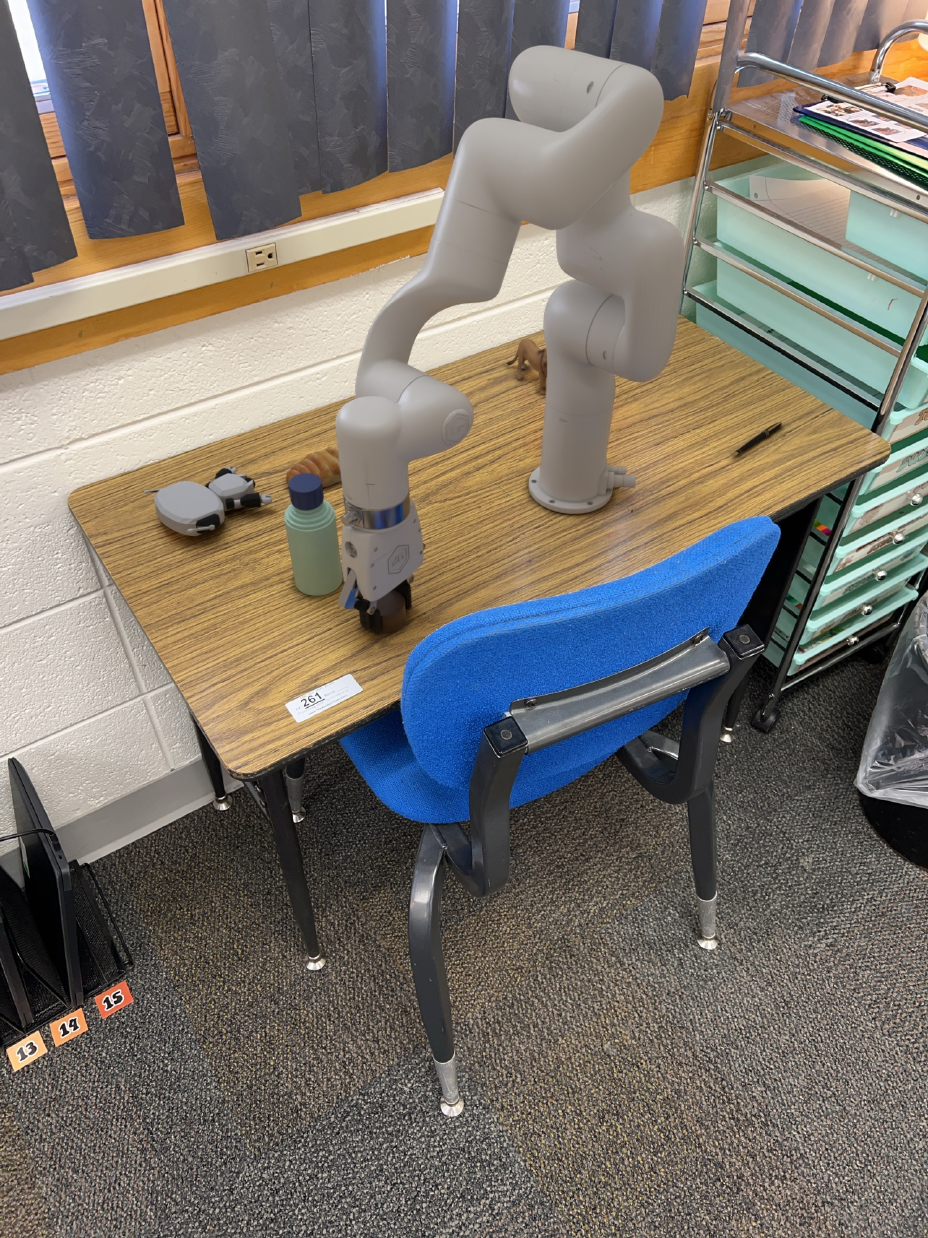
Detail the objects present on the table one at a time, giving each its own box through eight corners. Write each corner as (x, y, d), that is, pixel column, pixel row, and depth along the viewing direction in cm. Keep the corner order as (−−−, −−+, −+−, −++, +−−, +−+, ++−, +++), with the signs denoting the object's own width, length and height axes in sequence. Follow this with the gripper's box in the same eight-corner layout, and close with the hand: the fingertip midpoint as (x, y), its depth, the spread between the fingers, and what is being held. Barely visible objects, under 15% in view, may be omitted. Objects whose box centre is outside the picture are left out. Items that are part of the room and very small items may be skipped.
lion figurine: (577, 392, 158) (582, 344, 152) (557, 403, 155) (561, 354, 149) (515, 361, 165) (518, 314, 159) (495, 371, 163) (496, 324, 157)
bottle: (346, 565, 125) (335, 471, 114) (338, 597, 121) (326, 502, 110) (300, 563, 126) (285, 469, 115) (290, 594, 121) (274, 500, 110)
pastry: (301, 501, 136) (297, 479, 133) (277, 480, 139) (274, 459, 137) (353, 477, 140) (351, 456, 137) (329, 458, 144) (327, 437, 141)
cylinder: (408, 606, 119) (407, 589, 117) (403, 633, 116) (402, 616, 114) (370, 604, 120) (368, 587, 118) (364, 631, 116) (362, 614, 114)
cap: (326, 491, 115) (324, 473, 113) (320, 511, 112) (318, 493, 110) (294, 490, 115) (292, 472, 114) (288, 509, 113) (285, 491, 111)
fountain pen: (733, 461, 143) (735, 453, 142) (727, 458, 144) (729, 450, 143) (784, 427, 150) (786, 419, 149) (777, 424, 151) (780, 416, 150)
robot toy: (233, 480, 141) (144, 514, 133) (230, 454, 138) (138, 488, 130) (279, 516, 134) (188, 555, 126) (277, 490, 131) (183, 528, 123)
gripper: (348, 554, 98) (361, 668, 111) (450, 480, 108) (451, 593, 120) (300, 526, 102) (318, 640, 114) (402, 457, 111) (408, 569, 124)
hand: (386, 615), depth 117 cm, fingers closed on cylinder, 5 cm apart
